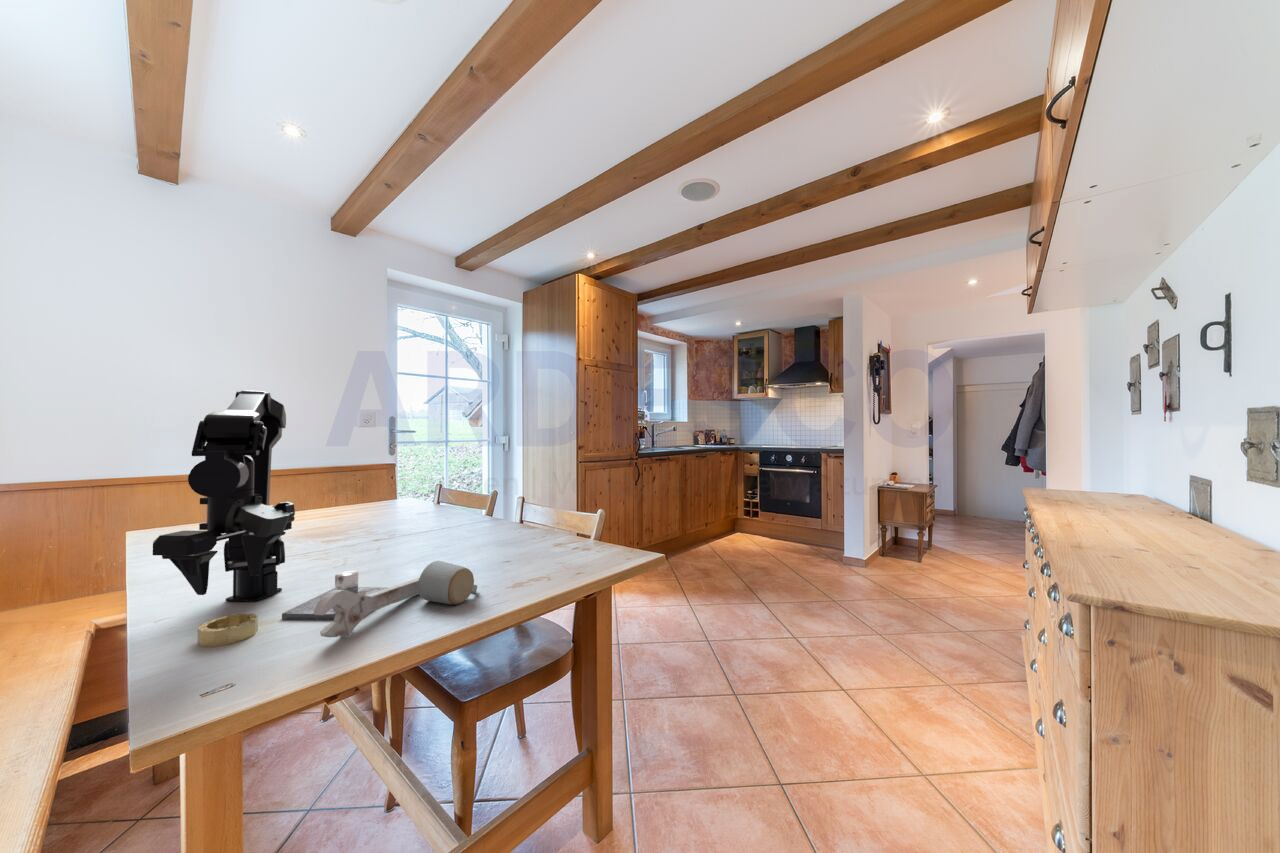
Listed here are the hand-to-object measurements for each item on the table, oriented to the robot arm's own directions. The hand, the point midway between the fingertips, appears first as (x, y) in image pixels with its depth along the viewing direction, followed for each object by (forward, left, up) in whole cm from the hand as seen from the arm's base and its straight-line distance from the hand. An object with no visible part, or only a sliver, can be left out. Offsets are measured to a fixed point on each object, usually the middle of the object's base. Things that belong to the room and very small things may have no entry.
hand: (229, 584), depth 74 cm
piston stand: (+10, +14, -9) cm, 19 cm away
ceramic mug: (+29, +17, -9) cm, 35 cm away
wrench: (+20, +10, -9) cm, 24 cm away
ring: (0, 0, -9) cm, 9 cm away
